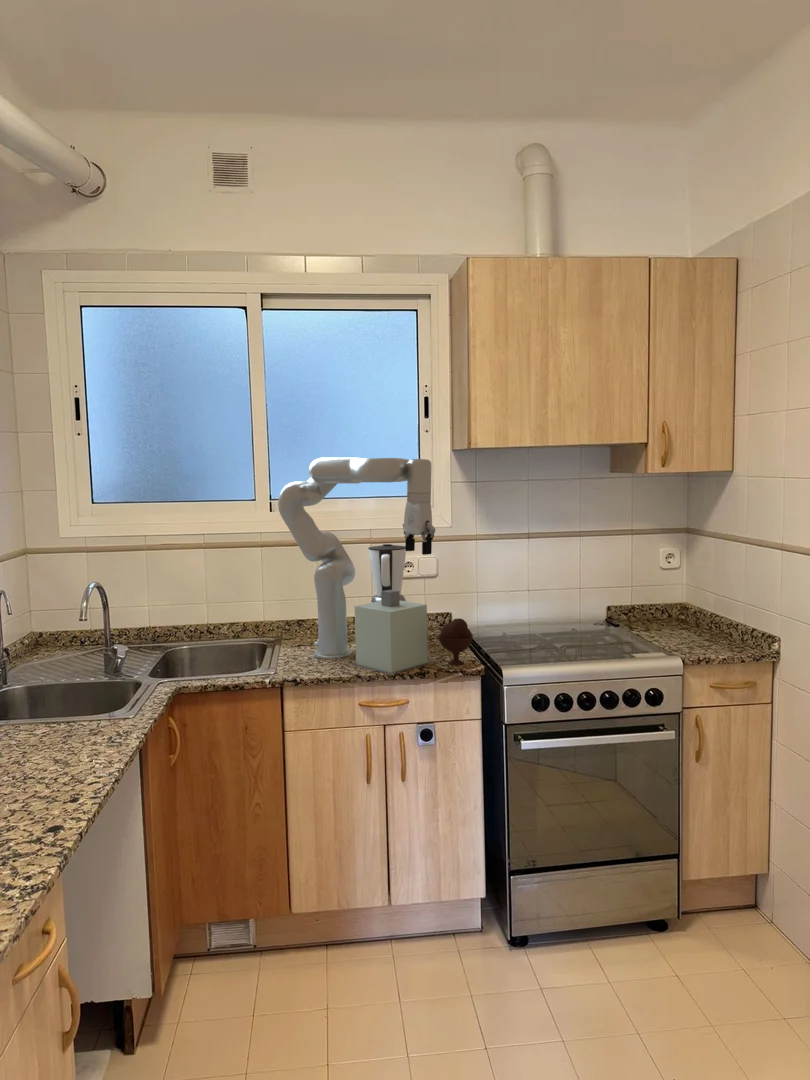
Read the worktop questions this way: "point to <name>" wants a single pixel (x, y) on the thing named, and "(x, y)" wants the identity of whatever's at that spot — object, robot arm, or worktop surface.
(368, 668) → the mat
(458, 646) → the ice cream bowl
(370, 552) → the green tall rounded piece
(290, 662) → the worktop surface
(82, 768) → the worktop surface
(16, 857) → the worktop surface
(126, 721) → the worktop surface
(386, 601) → the cover
